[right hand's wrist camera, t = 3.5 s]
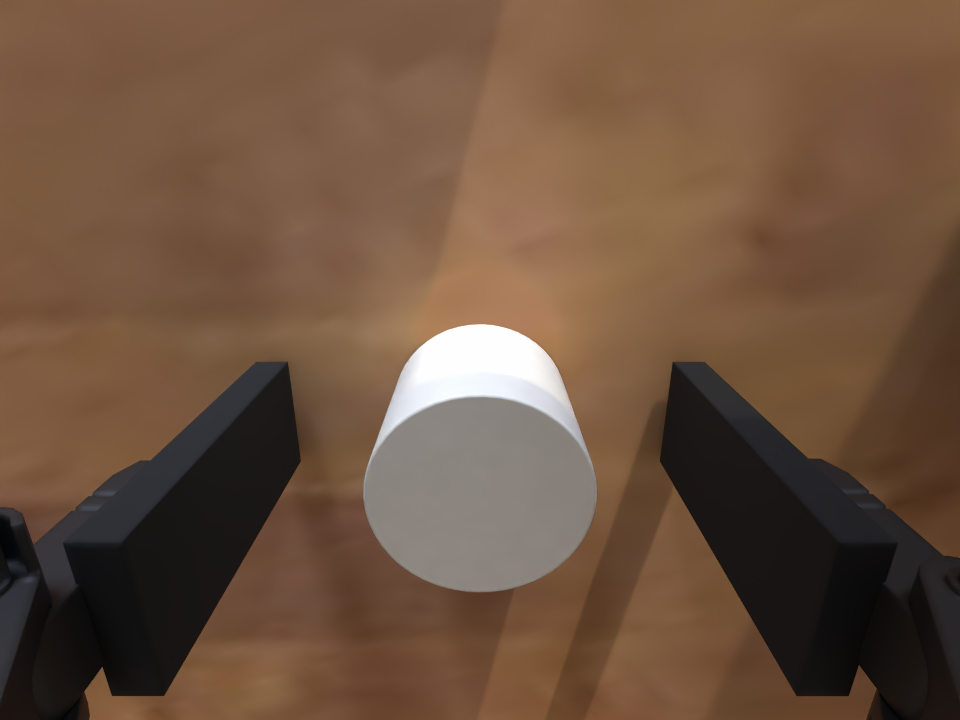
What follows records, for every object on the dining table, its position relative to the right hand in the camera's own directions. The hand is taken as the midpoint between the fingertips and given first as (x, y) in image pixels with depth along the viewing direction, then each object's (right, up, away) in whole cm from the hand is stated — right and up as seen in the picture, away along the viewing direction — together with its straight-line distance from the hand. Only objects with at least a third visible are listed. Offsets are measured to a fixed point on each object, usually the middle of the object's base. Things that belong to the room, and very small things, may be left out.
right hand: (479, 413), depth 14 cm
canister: (0, 0, 0) cm, 0 cm away
